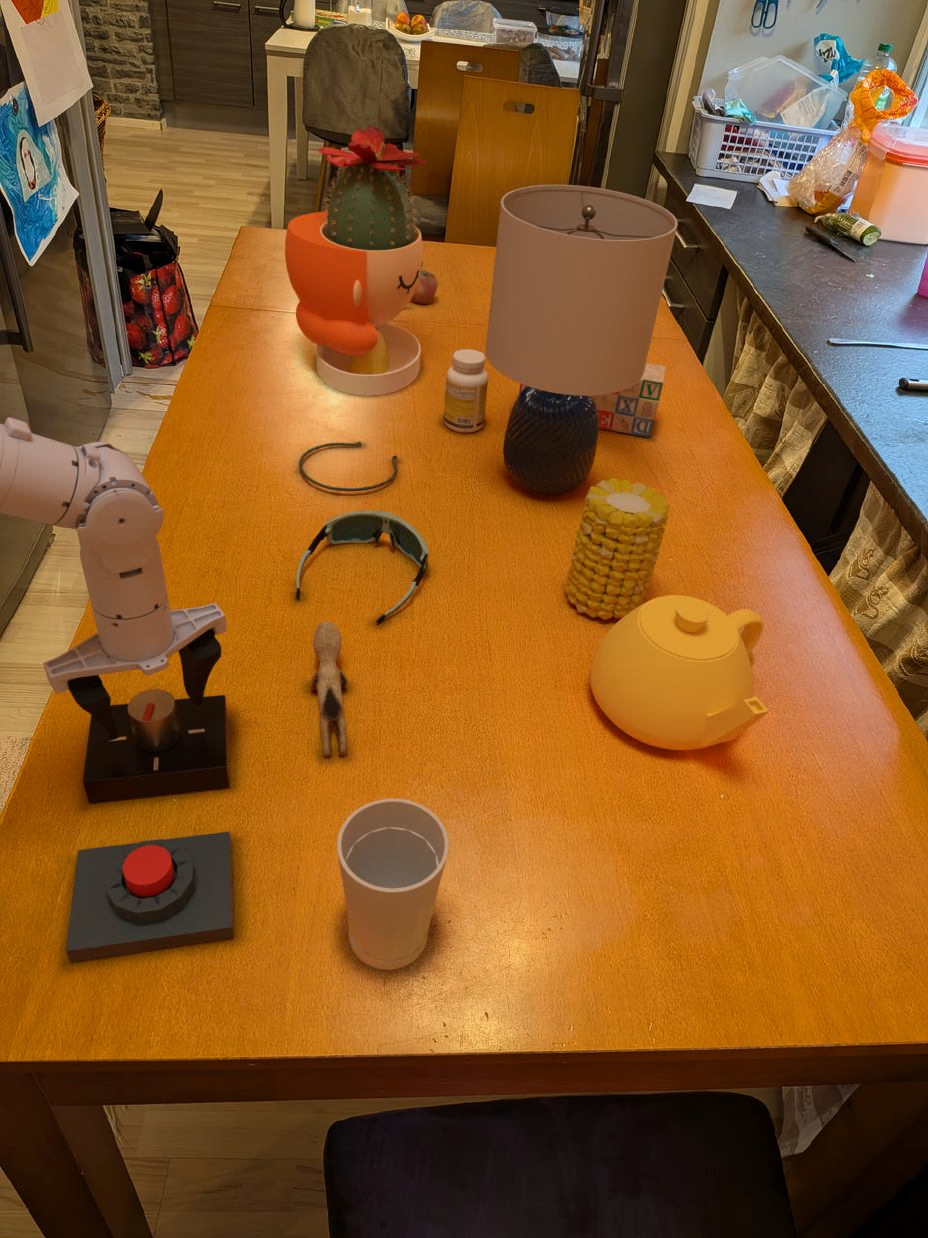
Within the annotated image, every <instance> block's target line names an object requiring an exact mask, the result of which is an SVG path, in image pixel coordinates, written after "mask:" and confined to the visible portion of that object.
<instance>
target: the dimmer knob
mask: <svg viewBox="0 0 928 1238" xmlns="http://www.w3.org/2000/svg"><path fill="white" fill-rule="evenodd" d="M175 699H176V698H175V697H174V696H173V694H172V693H170V692H169V691H167V690H164V689H159V688H152V689H147V690H143V691H140V692H138V693H137V694H135V695H134V696H133V697H132V698H131V699H130V701H129V702H128V703H127V704H128V714H129V718H130V723H131V727H132V731H133V736H134V740H135V743H136V745H137V746H138V747H139V748H141V749H142V750H144V751H148V752H159V751H163V750H166V749H168V748H170V747H172V746H173V745H174V744H175V743H176V742H177V741H178V739H179V737H180V734H181V731H180V725H179V720H178V714H177V709H176V703H175Z"/></svg>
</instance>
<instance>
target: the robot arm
mask: <svg viewBox="0 0 928 1238" xmlns="http://www.w3.org/2000/svg"><path fill="white" fill-rule="evenodd" d="M164 513H165V511H164V509H163V508H160V504H159V501H158V499H157V497H156V495H155V493H154V491H153V490H152V488H151V487H150V485H149V484H148V482H147V479H145V477H144V475H143V474H142V472H141V470H140V469H139V466H137V464H136V463H135V461H134V460H133V459H132V458H131V457H130V456H129V455H128V454H127V453H126V452H125V451H123V450H122V449H120V448H118V447H115V446H113V445H112V443H109V442H108V441H94V442H89V443H86V444H85V443H84V444H82V445H80V446H74V445H71V444H68V443H64V442H63V441H62V442H61V441H59V440H58V441H57V440H55V439H52V438H48V437H45V436H43V435H39V434H36V433H33V432H32V431H31V429H30V427H29V425H28V423H27V422H25V421H23V420H20V419H16V418H13V417H11V416H9V417H7V418H6V420H5V422H4V423H0V514H4V515H8V516H12V517H17V518H20V519H25V520H29V521H33V522H36V523H41V524H45V525H49V526H52V527H53V526H54V527H57V528H63V529H64V528H65V529H70V530H71V529H72V530H76V533H77V538H78V542H79V546H80V547H79V548H80V549H79V559H80V562H81V567H82V572H83V575H84V580H85V584H86V588H87V592H88V596H89V600H90V605H91V610H92V613H93V618H94V621H95V626H96V630H97V632H96V633H94V634H92V635H91V636H89V637H88V638H86V639H85V640H83V641H81V642H80V643H78V644H76V645H75V646H73V647H72V648H70V649H69V650H67V651H65V652H64V653H62V654H60V655H58V656H57V657H54V658H51V659H49V660H47V661H44V662H43V663H42V665H43V668H44V671H45V675H46V679H47V681H48V683H49V684H50V685H49V686H51V688H52V691H53V692H54V693H55V695H59V694H61V693H64V692H67V691H69V692H70V694H71V697H72V698H73V699H74V701H75V703H76V704H77V705H78V706H79V708H81V709H82V710H83V711H85V712H86V713H89V715H90V716H91V715H92V716H94V717H95V718H96V719H97V720H98V721H99V722H100V724H101V725H102V727H103V729H104V731H105V733H106V734H107V736H108V738H109V740H111V741H112V740H115V739H117V738H118V731H117V728H116V726H115V723H114V720H113V717H112V712H111V705H112V703H111V695H110V693H109V692H108V690H107V689H106V687H105V686H104V684H103V680H102V679H101V677H100V675H108V674H115V673H122V672H130V671H138V670H139V671H141V672H142V674H144V675H145V676H150V675H154V674H157V673H159V672H163V671H164V670H166V669H167V668H169V667H170V664H169V660H168V659H169V658H170V657H172V656H173V655H175V654H176V653H177V652H178V654H179V659H180V663H181V672H182V680H183V686H184V690H185V693H186V695H187V697H188V698H190V699H191V701H192V702H193V704H194V705H195V706H198V705H201V704H202V702H203V697H205V696H204V695H205V691H206V686H207V683H208V679H209V677H210V675H211V673H212V671H213V668H214V667H215V666H216V664H217V663H218V661H219V660H220V659H221V657H222V644H221V643H220V641H219V640H218V639H217V638H216V636H218V635H221V634H224V633H227V631H228V628H227V619H226V614H225V613H224V611H223V610H222V609H221V608H220V607H219V606H218V604H217V603H216V602H213V603H210V604H206V605H202V606H196V607H190V608H181V609H173V610H171V608H170V602H169V595H168V589H167V583H166V577H165V571H164V564H163V559H162V553H161V547H160V544H159V541H158V540H157V535H158V534H159V532H160V531H161V528H162V526H163V522H164V518H165V514H164Z"/></svg>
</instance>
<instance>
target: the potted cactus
mask: <svg viewBox="0 0 928 1238" xmlns="http://www.w3.org/2000/svg"><path fill="white" fill-rule="evenodd" d="M350 140H351V141H350V142H349V143H348V145H347V149H348V151H345V150H342V149H339V148H335V147H327V146H324V147H319V148H318V153H320V154H323V155H325V158H326V159H325V161H326V162H329V163H330V164H332V165H334V166H335V167H337V168H339V169H340V170H339V169H337V171H336V175H334V178H335V179H336V181H334V179H333V178H332V180H330V183H331V185H328V189H327V192H329V193H327V195H326V197H327V196H328V197H329V198H325V199H324V202H323V204H324V206H326V207H324V209H323V211H318V212H317V211H315V212H310V213H306V214H302V215H298V216H297V217H294V218H292V219H291V220H290V221H289V222H288V223H287V224H288V225H287V229H286V234H285V240H284V259H285V264H286V265H285V267H286V271H287V275H288V279H289V282H290V285H291V287H292V289H293V291H294V294H295V295H296V296H297V298H298V301H299V302H298V303H297V304H296V308H295V319H296V323H297V326H298V328H299V330H300V331H301V333H302V334H303V335H304V336H305V338H306V339H308V340H309V341H310V342H311V343H312V344H315V345H316V348H315V349H316V372H317V375H318V377H319V379H320V380H321V381H322V382H323V383H325V385H327V386H329V387H330V388H332V389H334V390H336V391H338V392H341V393H344V394H348V395H354V396H355V395H356V396H365V397H366V396H369V397H370V396H381V395H388V394H391V393H394V392H397V391H399V390H402V389H404V388H406V387H408V386H409V385H411V384H412V383H413V382H414V381H415V380H416V379H417V378H418V375H419V374H420V371H421V370H420V369H421V351H422V346H421V343H420V341H419V339H418V338H417V337H416V335H414V334H413V333H412V331H411V332H410V331H409V330H408V329H406V328H404V327H402V326H400V325H399V326H398V325H396V324H393V323H389V322H391V321H393V320H394V319H396V318H397V317H398V316H399V315H400V314H401V313H402V312H403V311H405V310H406V309H407V306H408V305H409V303H410V301H412V300H411V298H412V296H413V294H414V295H415V294H417V292H418V290H419V285H420V282H419V278H420V273H421V271H422V267H423V264H424V262H423V256H424V254H423V252H424V249H423V247H424V246H423V237H422V232H421V230H420V228H418V224H415V223H418V222H419V220H417V217H416V218H413V216H418V215H419V214H418V211H417V208H412V207H415V204H416V201H415V199H416V197H415V196H416V195H415V194H414V193H413V191H412V189H411V187H410V182H407V183H406V179H405V178H406V174H405V173H406V172H405V173H404V172H402V173H403V174H402V175H400V171H405V170H406V168H404V167H411V166H412V167H413V166H414V167H415V166H423V165H426V164H427V161H424V160H422V159H420V158H419V159H417V157H419V156H420V155H421V154H420V153H419V152H407V151H405V150H402V149H398V148H397V146H396V145H395V144H392V143H387V144H385V136H384V134H383V132H382V131H381V130H380V129H379V128H377V127H375V126H373V125H370V126H367V127H366V128H365V129H357V130H355V131H354V132H353V133H352V134H351V139H350ZM349 151H350V152H349ZM399 166H400V167H399ZM340 172H341V173H340ZM405 183H406V184H405ZM410 189H411V190H410ZM410 191H411V192H410ZM409 192H410V193H409ZM413 196H414V198H411V199H410V197H413ZM327 202H328V203H327Z"/></svg>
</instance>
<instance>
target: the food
mask: <svg viewBox="0 0 928 1238" xmlns="http://www.w3.org/2000/svg"><path fill="white" fill-rule="evenodd" d="M669 510H670V505H669V504H668V503H667V502H666V495H663V494H659V493H657V490H656V489H654V488H653V487H647V486H646V485H644V484H643V483H642V482H636V483H632V482H630V481H629V480H628V479H625V480H621V481H620V480H619V479H617V477H614V478H610V479H608V480H605V479H602V480H601V481H600V482H598V483H597V484H596V485H595V486H593V485H590V488H589V489H588V491H587V494H586V496H585V504H584V505H583V508H582V510H581V518H580V520H579V528H578V529H577V531H576V536H575V544H574V546H573V547H572V550H573V552H572V554H571V559H570V561H571V564H570V566H569V568H568V569H569V571H568V573H567V578H565V580H566V586H565V590H564V591H565V592H566V595H567V599H568V600H569V602H570V604H571V605H575V608H576V611H577V613H579V614H586V615H588V616H589V617H590V618H592V619H593V618H597V617H599V618H600V619H602V620H603V621H606V620H609V619H611V618H613V617H614V618H615V619H622V618H623V617H624V616H625V615H627V614H628V613H630V612H631V611H633V610H634V609H636V608H637V607H639V606H640V605H642V604H644V599H645V598H646V594H647V593H648V589H649V588H650V586H651V580H652V578H653V575H654V574H653V571H654V570H655V565H656V564H657V561H658V559H659V558H658V555H659V550H660V547H661V544H662V542H663V538H664V535H665V531H666V527H667V525H668V523H667V521H668V519H669V513H668V512H669Z"/></svg>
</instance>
